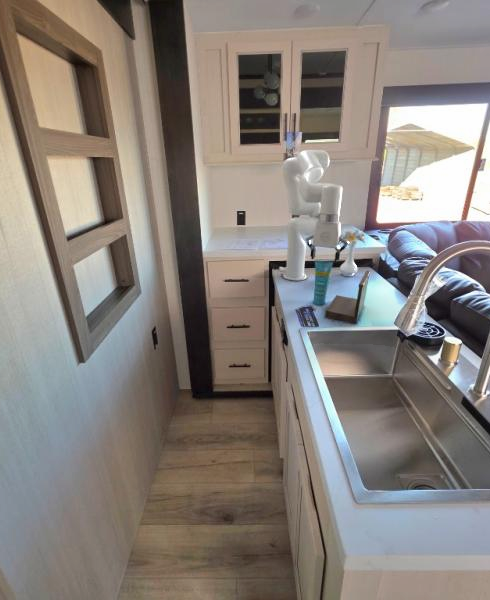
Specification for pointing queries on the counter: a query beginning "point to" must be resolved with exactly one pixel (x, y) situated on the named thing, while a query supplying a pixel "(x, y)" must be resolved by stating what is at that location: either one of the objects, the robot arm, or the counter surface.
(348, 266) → the flower vase
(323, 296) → the tube
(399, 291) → the counter surface
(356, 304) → the dark wooden bookend
